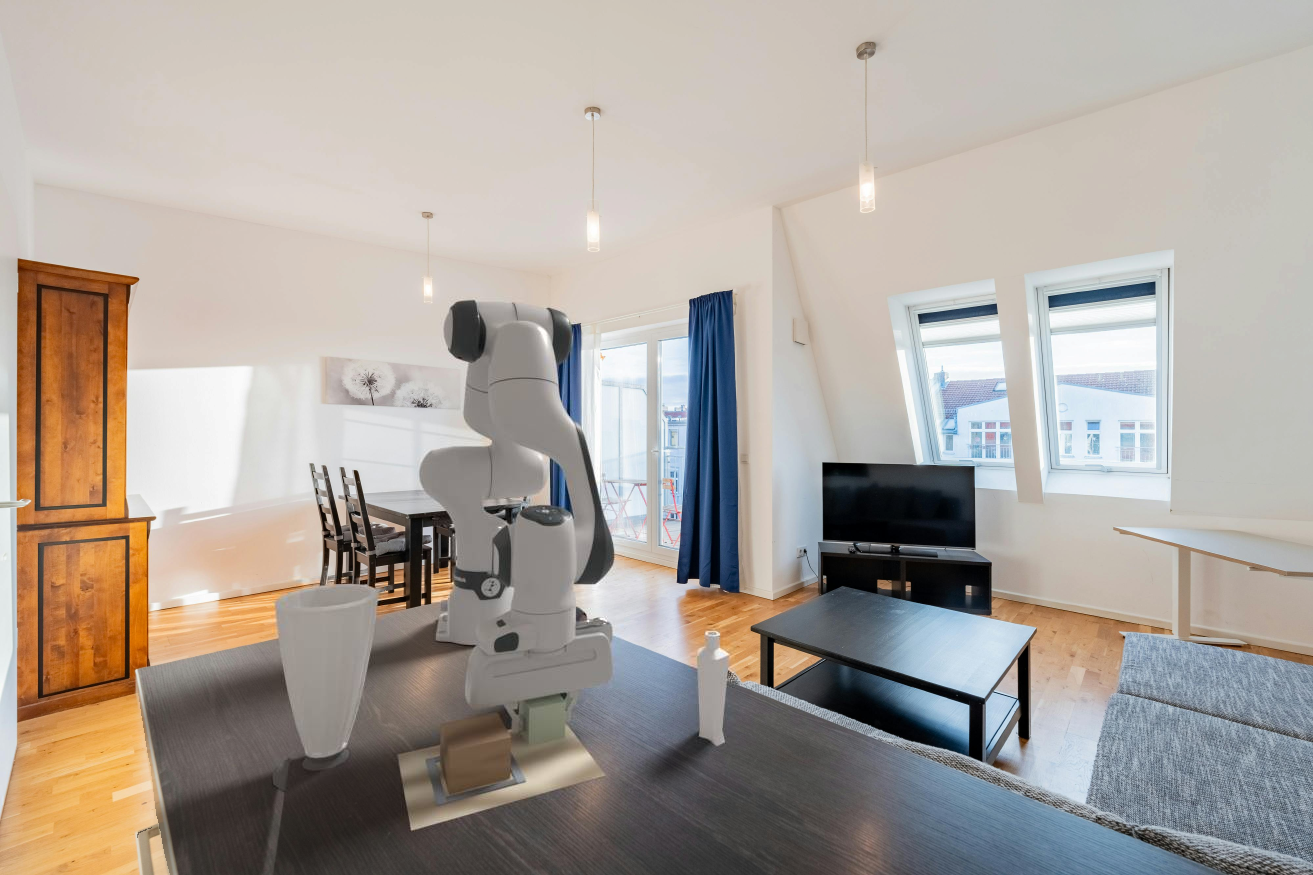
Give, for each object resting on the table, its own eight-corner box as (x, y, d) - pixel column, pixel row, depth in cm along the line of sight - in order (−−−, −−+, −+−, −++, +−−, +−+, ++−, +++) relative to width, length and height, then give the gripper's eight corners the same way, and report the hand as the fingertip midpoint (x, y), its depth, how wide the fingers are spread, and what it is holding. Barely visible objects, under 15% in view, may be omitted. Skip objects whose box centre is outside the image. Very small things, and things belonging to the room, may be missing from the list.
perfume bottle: (707, 728, 86) (710, 625, 86) (731, 739, 83) (734, 633, 83) (686, 739, 83) (688, 632, 82) (710, 752, 80) (712, 641, 79)
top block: (518, 729, 83) (519, 693, 82) (553, 721, 85) (553, 686, 85) (528, 746, 78) (529, 708, 78) (564, 737, 80) (565, 701, 80)
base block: (439, 763, 74) (440, 723, 74) (496, 749, 77) (497, 711, 77) (449, 794, 68) (449, 751, 68) (510, 778, 71) (511, 736, 71)
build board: (397, 762, 76) (397, 753, 76) (561, 724, 86) (562, 716, 86) (411, 839, 62) (411, 828, 62) (605, 783, 72) (605, 773, 72)
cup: (280, 752, 77) (282, 587, 77) (377, 735, 82) (379, 580, 82) (263, 803, 67) (265, 613, 67) (375, 780, 72) (378, 603, 71)
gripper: (604, 609, 89) (602, 700, 89) (463, 628, 79) (461, 731, 80) (621, 622, 83) (619, 719, 84) (472, 644, 74) (470, 754, 74)
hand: (541, 725), depth 82 cm, fingers closed on top block, 5 cm apart
